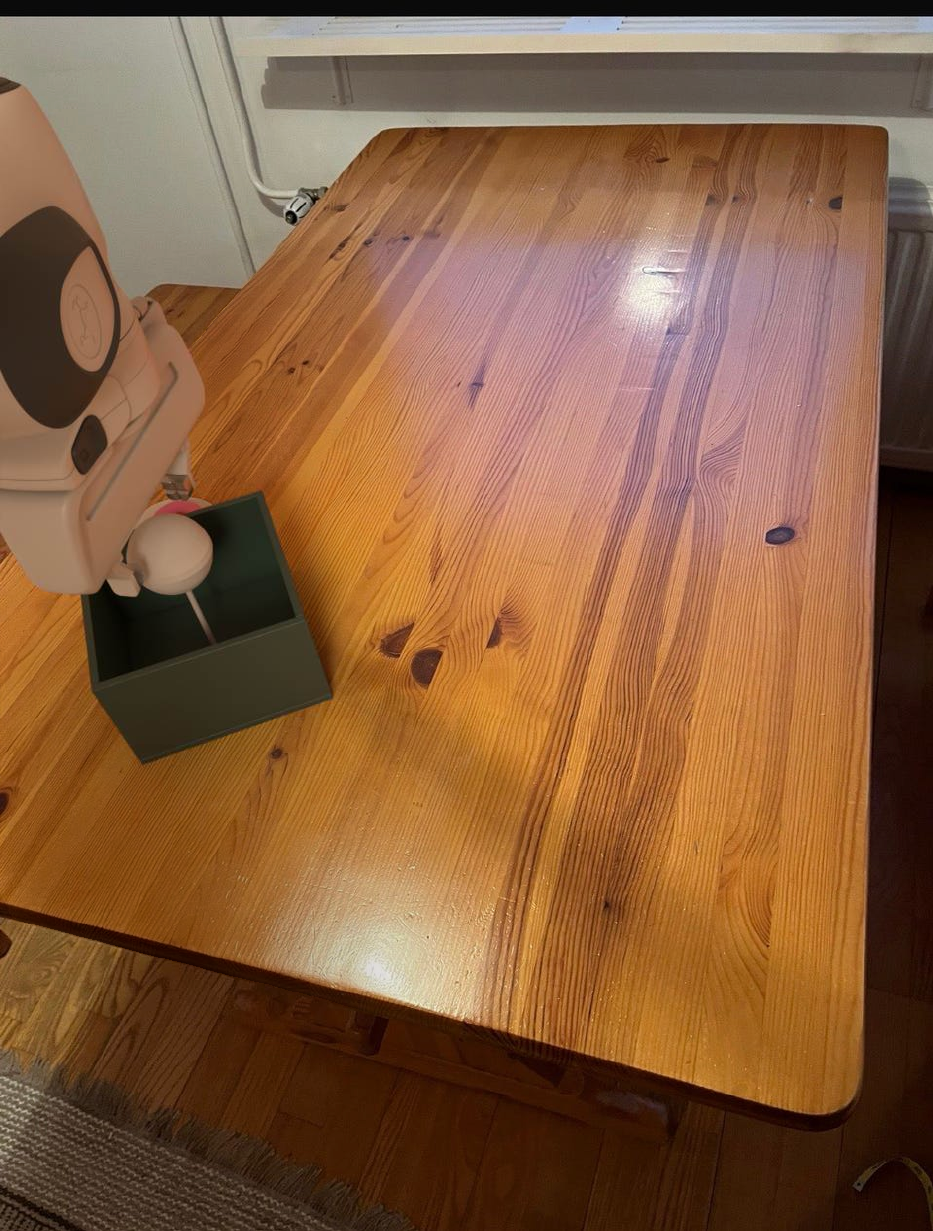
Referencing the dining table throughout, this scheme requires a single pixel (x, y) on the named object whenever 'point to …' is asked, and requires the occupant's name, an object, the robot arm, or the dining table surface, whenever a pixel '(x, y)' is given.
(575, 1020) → the dining table surface
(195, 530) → the lollipop
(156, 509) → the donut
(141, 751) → the bin
